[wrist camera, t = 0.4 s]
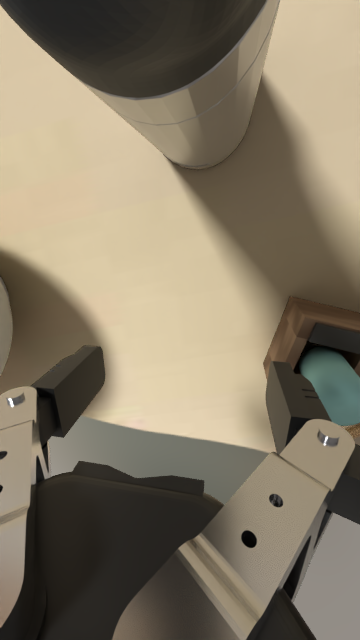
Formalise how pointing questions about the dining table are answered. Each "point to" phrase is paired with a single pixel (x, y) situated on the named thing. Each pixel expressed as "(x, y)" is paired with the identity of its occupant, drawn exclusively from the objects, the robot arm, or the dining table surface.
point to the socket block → (315, 333)
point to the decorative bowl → (5, 325)
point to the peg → (333, 383)
